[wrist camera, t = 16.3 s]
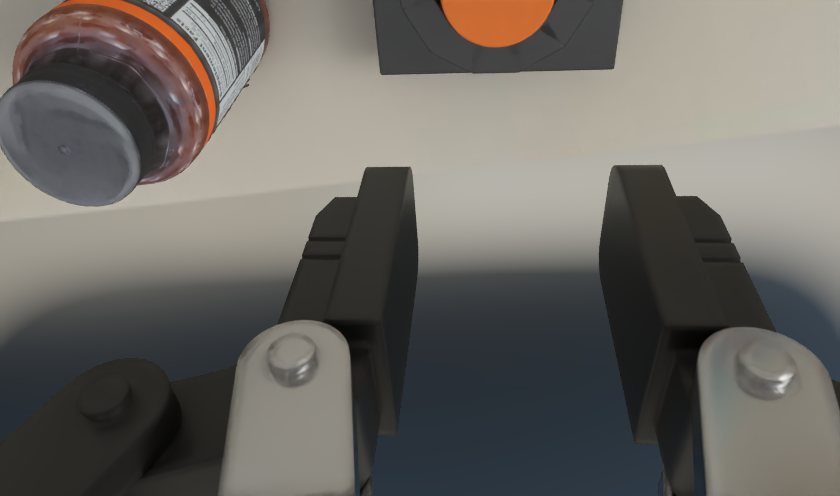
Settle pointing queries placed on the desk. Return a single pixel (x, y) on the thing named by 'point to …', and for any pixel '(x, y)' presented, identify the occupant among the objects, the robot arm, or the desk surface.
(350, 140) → the desk surface
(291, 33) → the desk surface
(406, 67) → the control box
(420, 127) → the desk surface
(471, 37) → the button
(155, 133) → the supplement bottle
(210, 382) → the robot arm
